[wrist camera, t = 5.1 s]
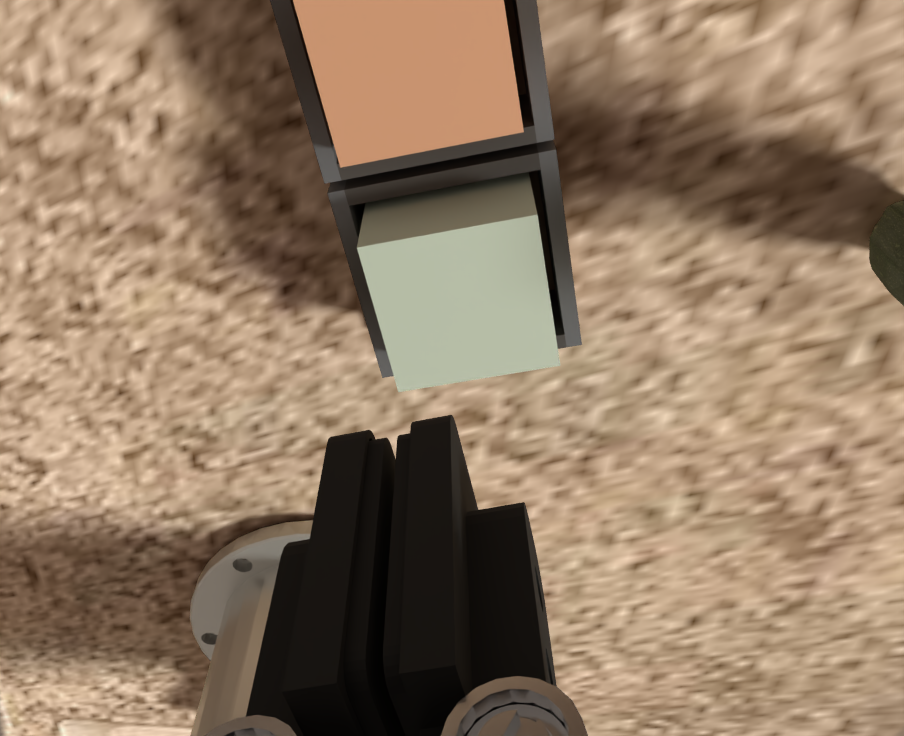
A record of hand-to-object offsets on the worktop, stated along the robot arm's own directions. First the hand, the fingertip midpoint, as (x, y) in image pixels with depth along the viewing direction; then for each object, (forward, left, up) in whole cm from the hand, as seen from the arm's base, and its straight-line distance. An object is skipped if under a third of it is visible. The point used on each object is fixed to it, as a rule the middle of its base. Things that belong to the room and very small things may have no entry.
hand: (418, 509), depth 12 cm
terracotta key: (+2, +2, -17) cm, 18 cm away
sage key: (-4, -2, -17) cm, 17 cm away
